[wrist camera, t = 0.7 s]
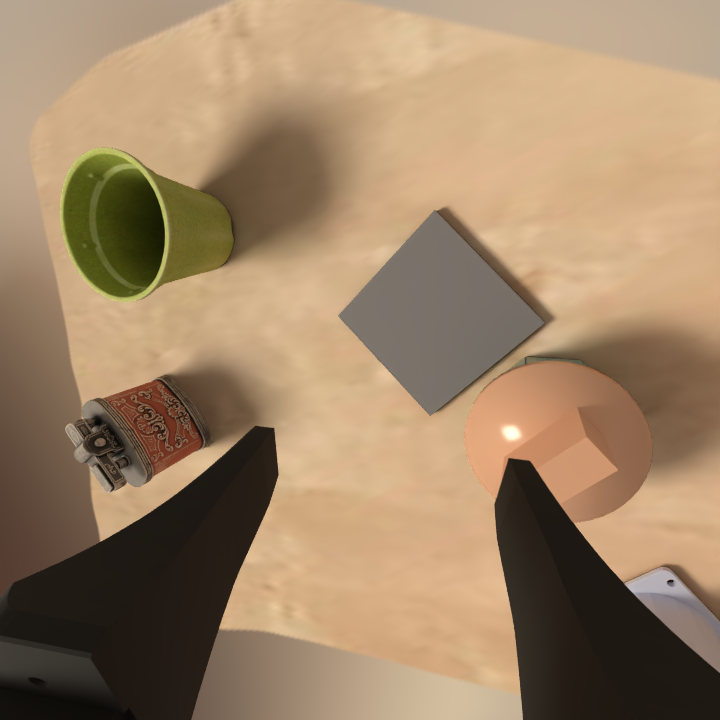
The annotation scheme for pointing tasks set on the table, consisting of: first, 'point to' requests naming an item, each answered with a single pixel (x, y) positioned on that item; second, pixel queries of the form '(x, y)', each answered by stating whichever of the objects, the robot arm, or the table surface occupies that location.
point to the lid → (562, 435)
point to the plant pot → (138, 226)
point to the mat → (438, 315)
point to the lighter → (137, 433)
